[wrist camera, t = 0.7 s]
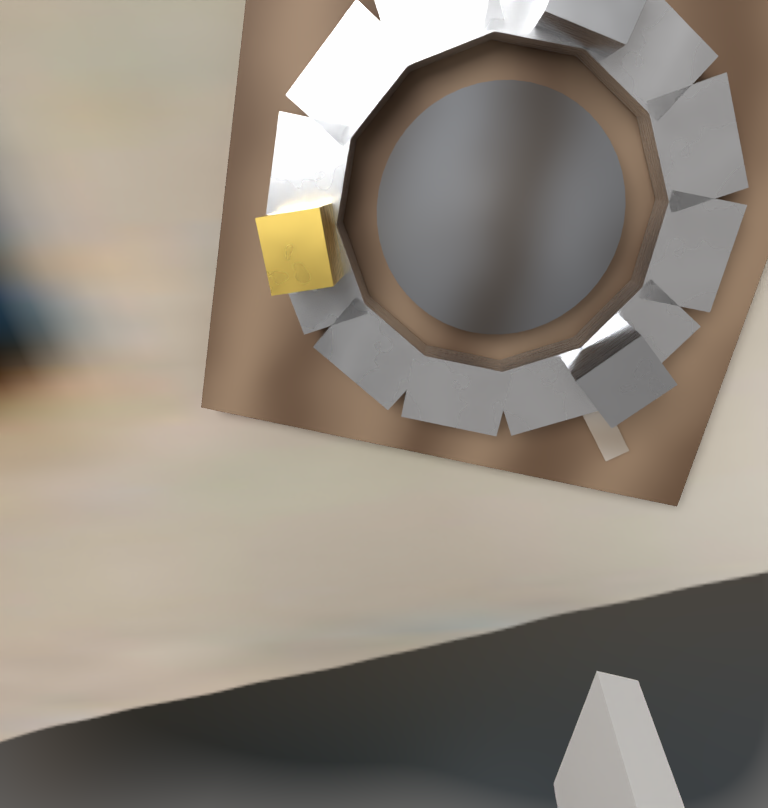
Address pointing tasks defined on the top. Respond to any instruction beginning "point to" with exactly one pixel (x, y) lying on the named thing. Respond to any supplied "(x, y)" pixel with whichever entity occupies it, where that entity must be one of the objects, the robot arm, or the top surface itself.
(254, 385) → the walnut base
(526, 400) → the grey block ring
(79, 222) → the top surface
